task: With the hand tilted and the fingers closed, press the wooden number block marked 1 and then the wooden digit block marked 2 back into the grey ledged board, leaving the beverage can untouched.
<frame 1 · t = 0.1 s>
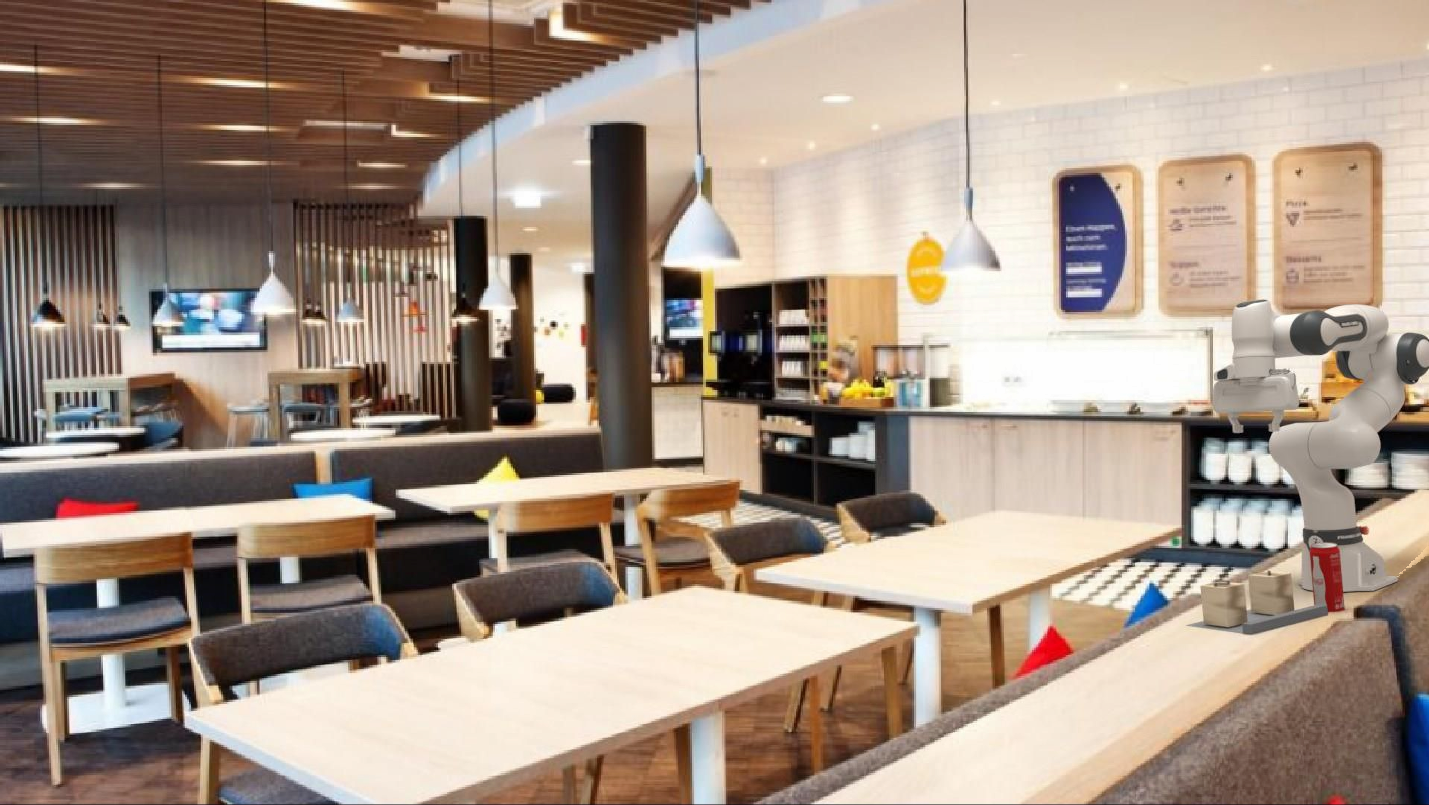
hand: (1255, 432, 274), 39 cm above the table, tool pointing down, fingers open, 8 cm apart
beverage can: (1330, 615, 257), on the table
wooden digit block 2: (1223, 603, 252), point 5 cm above the table, slide at 0.0 cm
grey ledged board: (1256, 624, 254), on the table
wooden number block 1: (1271, 591, 259), point 5 cm above the table, slide at 0.0 cm
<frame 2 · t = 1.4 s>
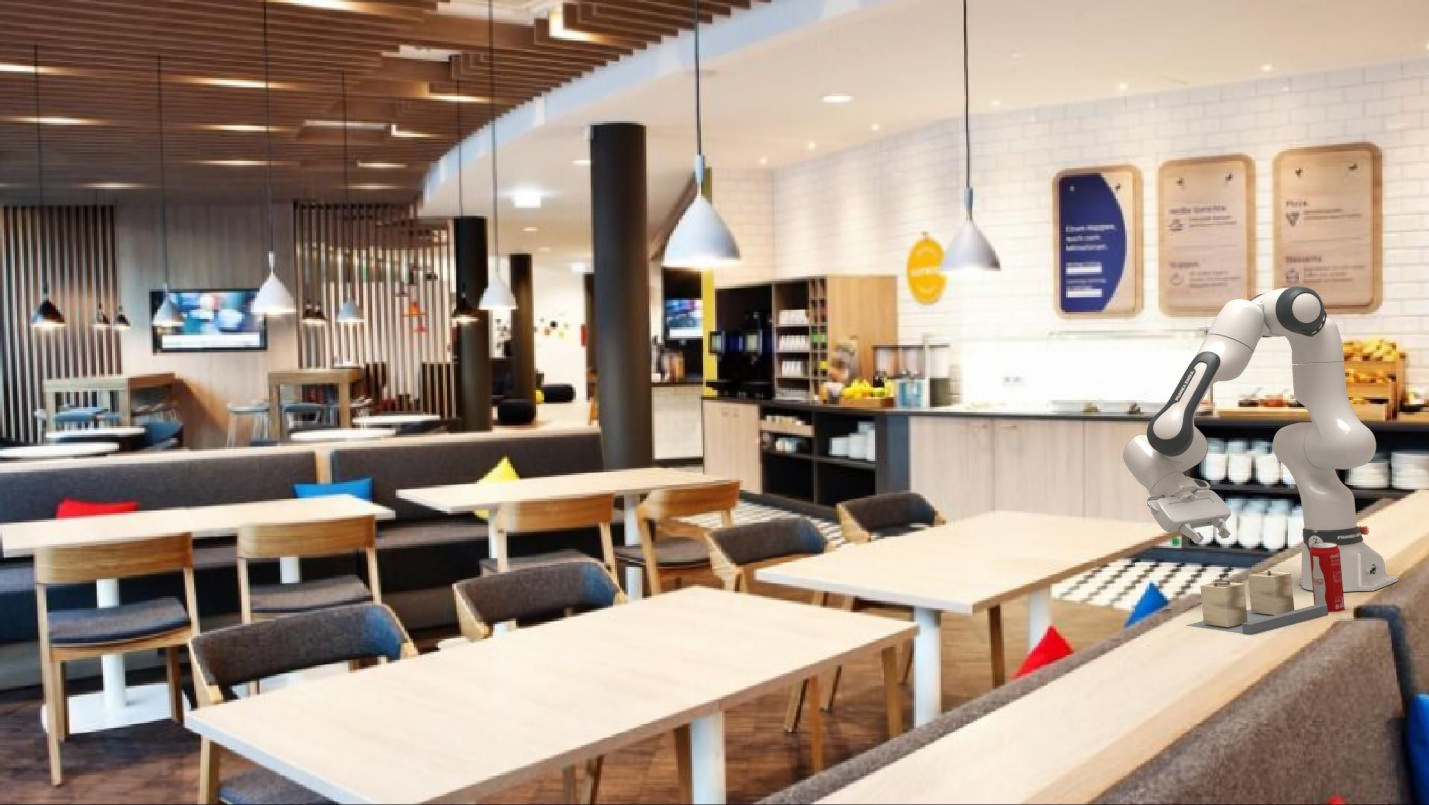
hand: (1213, 538, 271), 16 cm above the table, tool tilted 45°, fingers open, 8 cm apart
nothing on the table moved.
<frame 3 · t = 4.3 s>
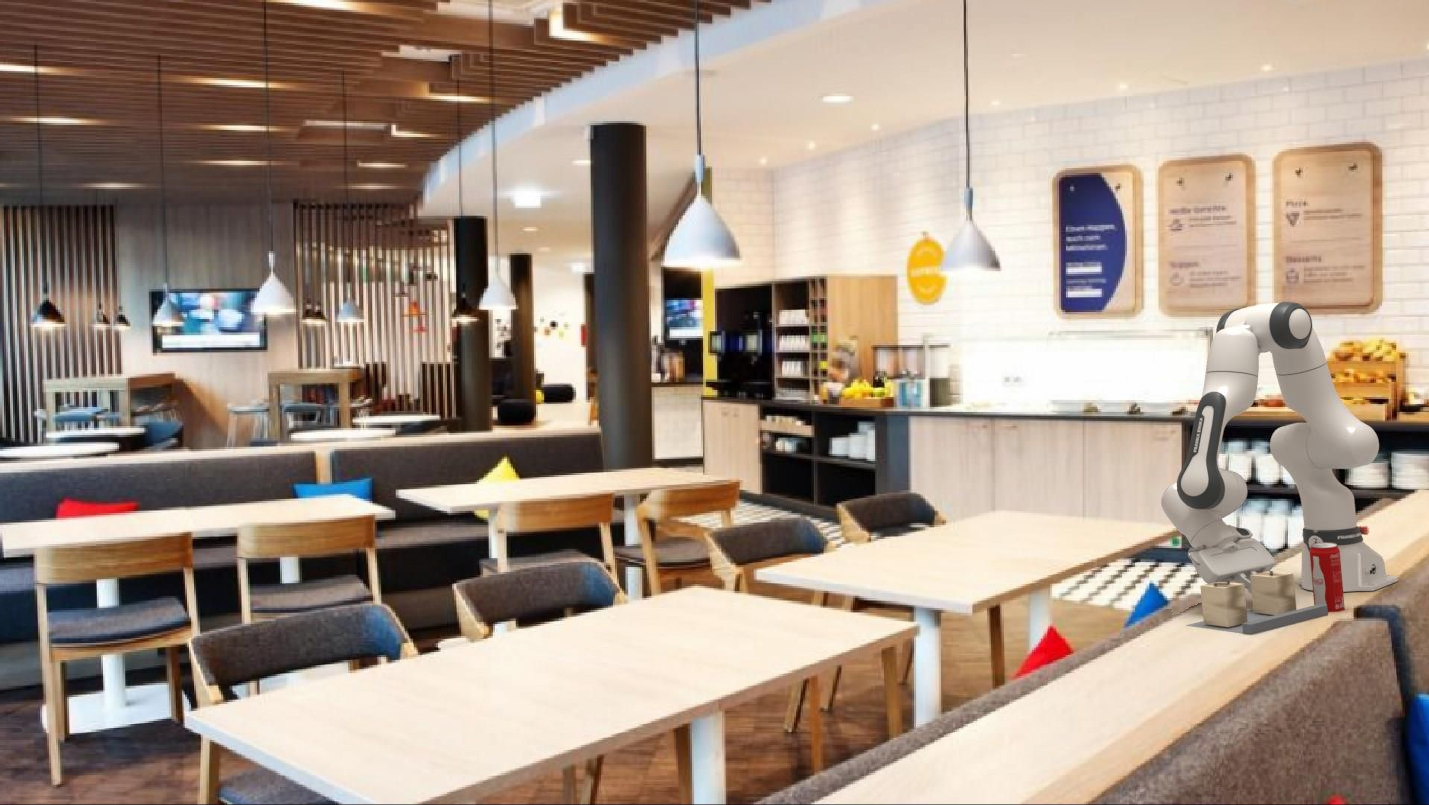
hand: (1258, 591, 262), 5 cm above the table, tool tilted 45°, fingers closed, pressing on wooden number block 1
wooden number block 1: (1273, 592, 259), point 5 cm above the table, slide at 0.5 cm, touching gripper
everything else where it was.
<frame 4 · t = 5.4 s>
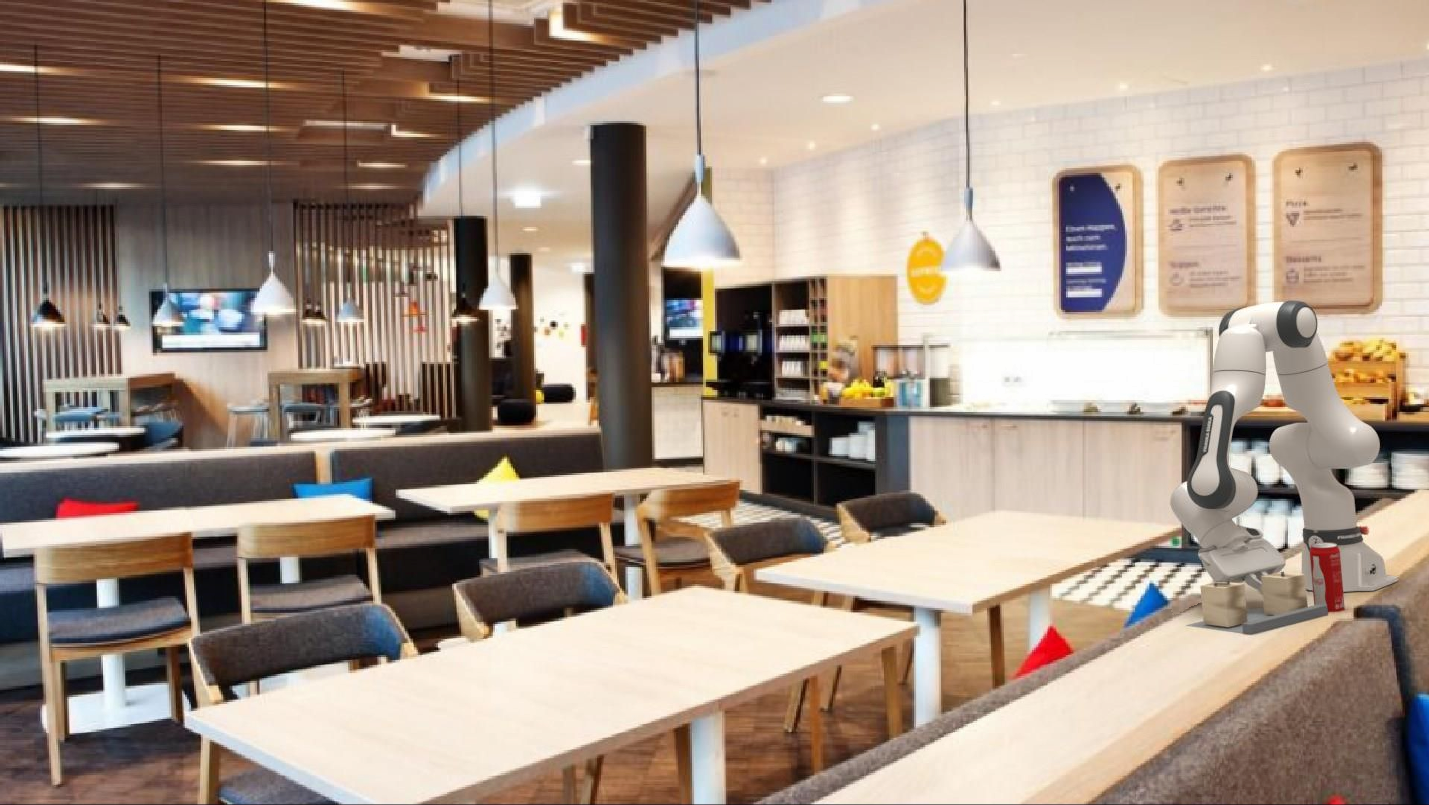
hand: (1269, 592, 260), 5 cm above the table, tool tilted 45°, fingers closed
wooden number block 1: (1284, 593, 256), point 5 cm above the table, slide at 3.2 cm
everything else where it was.
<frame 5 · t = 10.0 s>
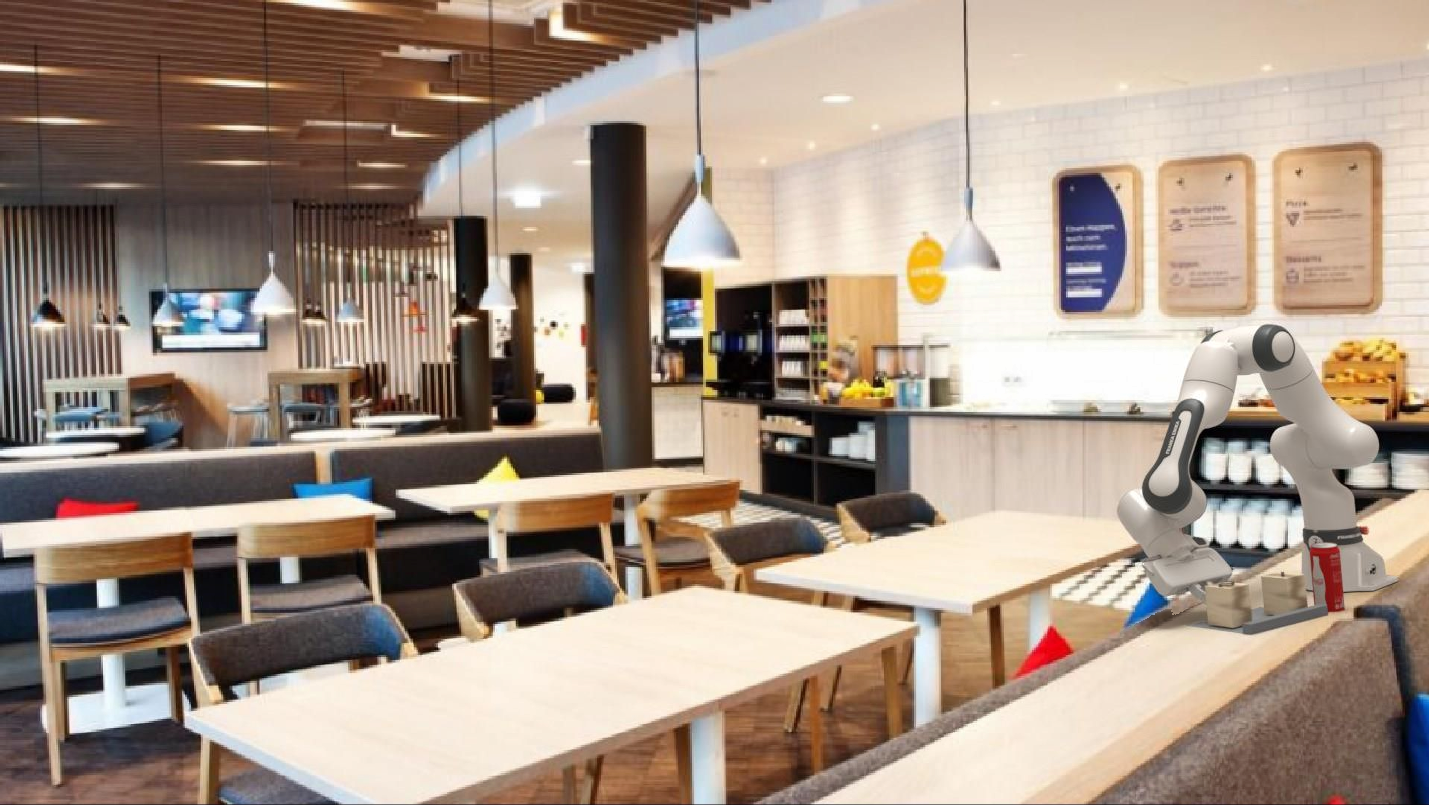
hand: (1213, 602, 254), 5 cm above the table, tool tilted 45°, fingers closed, pressing on wooden digit block 2
wooden digit block 2: (1228, 603, 251), point 5 cm above the table, slide at 1.2 cm, touching gripper
everything else where it was.
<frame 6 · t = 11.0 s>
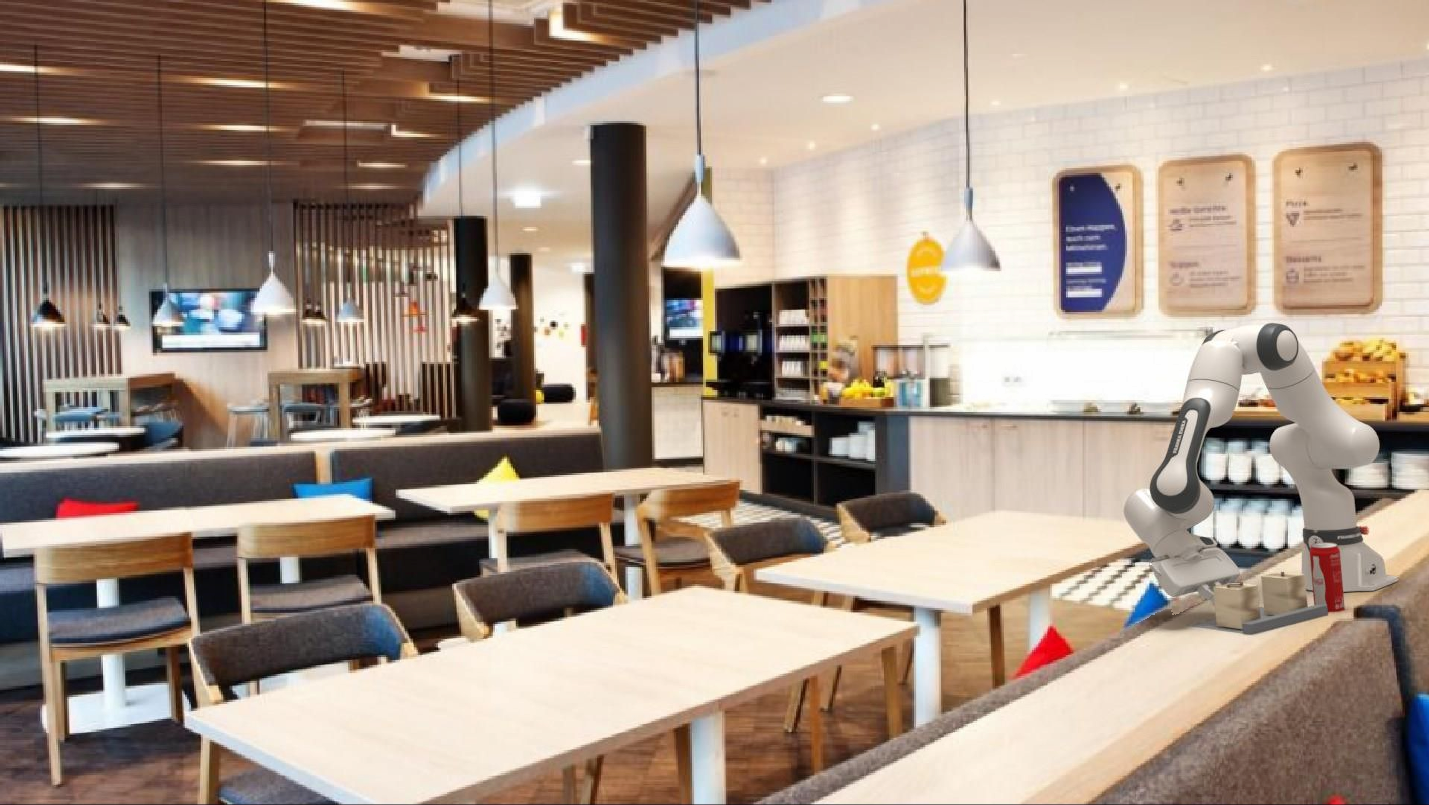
hand: (1221, 603, 252), 5 cm above the table, tool tilted 45°, fingers closed
wooden digit block 2: (1237, 604, 249), point 5 cm above the table, slide at 3.2 cm
everything else where it was.
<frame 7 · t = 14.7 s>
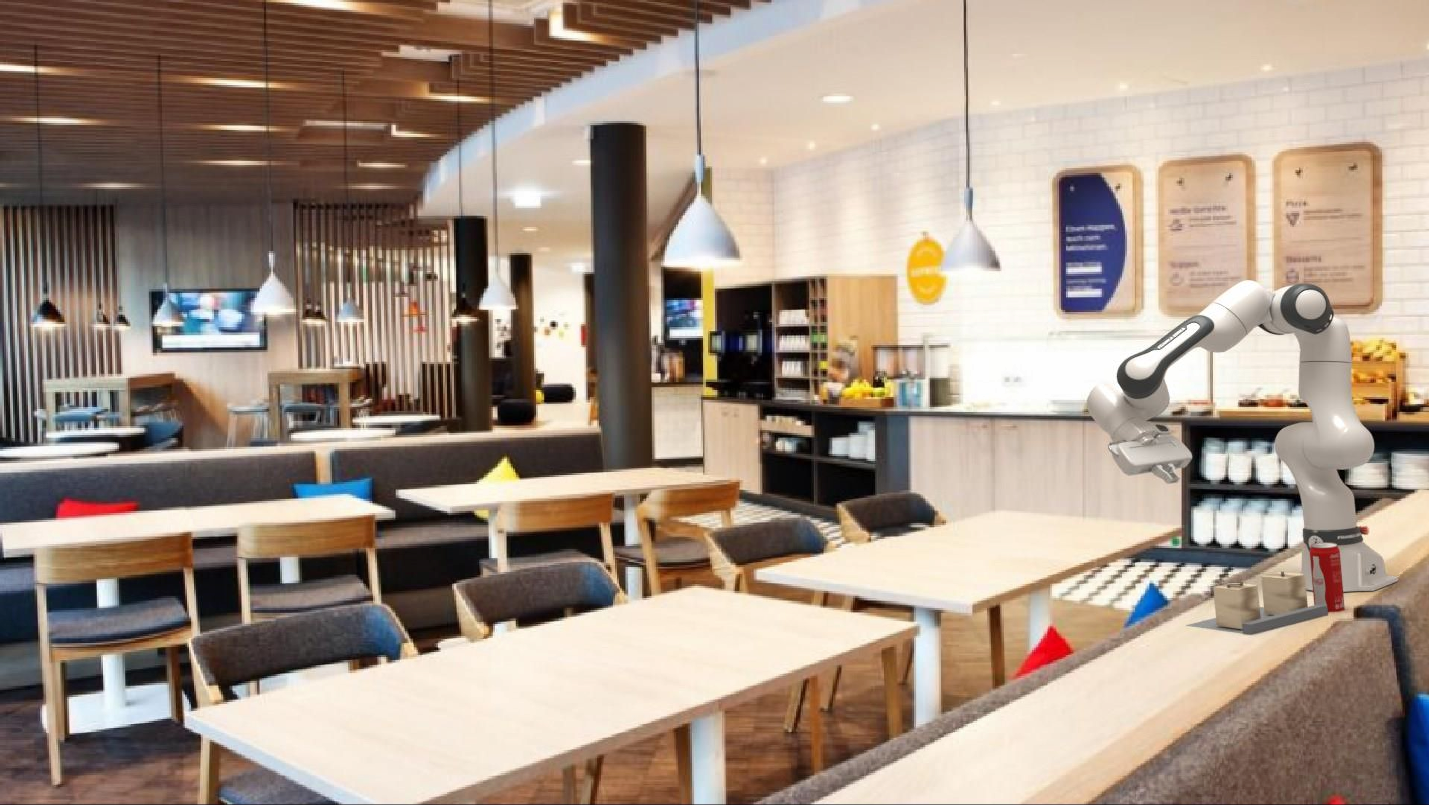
hand: (1174, 481, 274), 29 cm above the table, tool tilted 45°, fingers closed
nothing on the table moved.
at the end: wooden number block 1 slide at 3.2 cm; wooden digit block 2 slide at 3.2 cm; beverage can moved 0.2 cm from its start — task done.
